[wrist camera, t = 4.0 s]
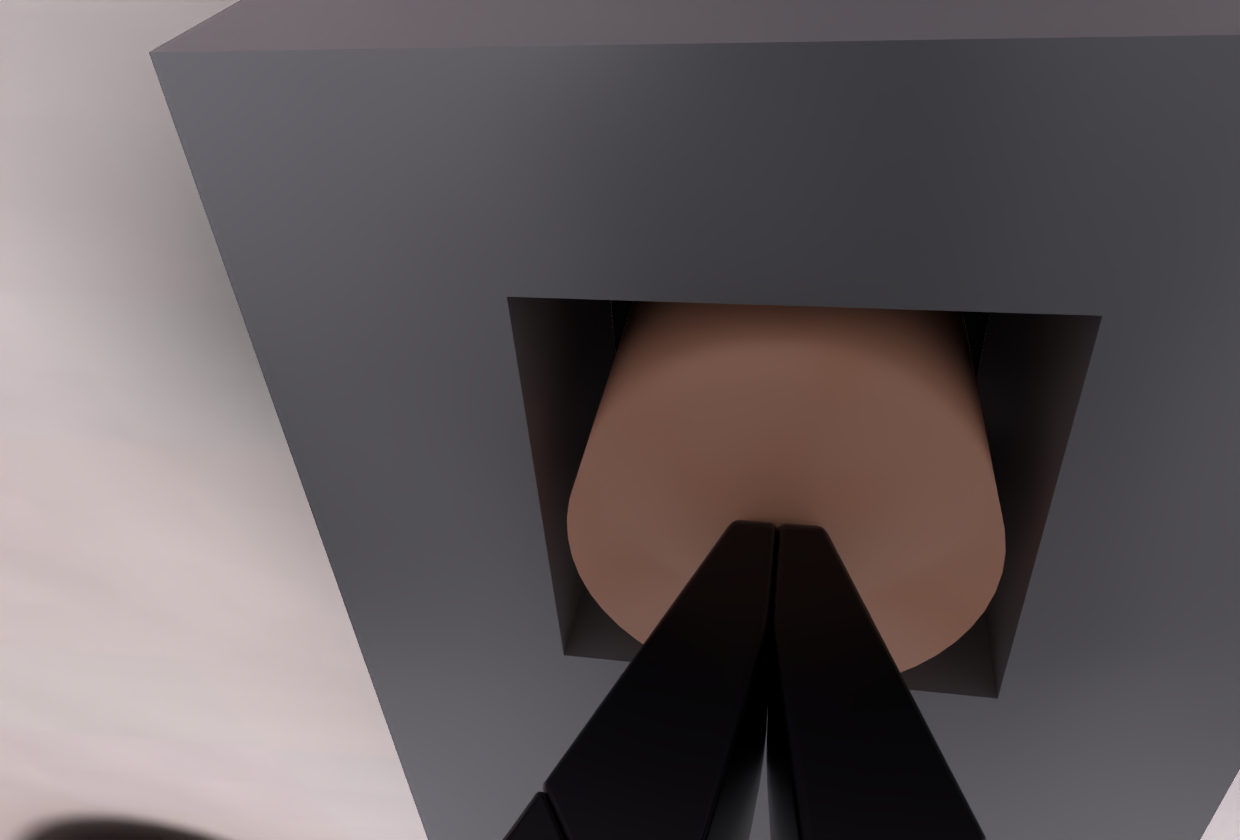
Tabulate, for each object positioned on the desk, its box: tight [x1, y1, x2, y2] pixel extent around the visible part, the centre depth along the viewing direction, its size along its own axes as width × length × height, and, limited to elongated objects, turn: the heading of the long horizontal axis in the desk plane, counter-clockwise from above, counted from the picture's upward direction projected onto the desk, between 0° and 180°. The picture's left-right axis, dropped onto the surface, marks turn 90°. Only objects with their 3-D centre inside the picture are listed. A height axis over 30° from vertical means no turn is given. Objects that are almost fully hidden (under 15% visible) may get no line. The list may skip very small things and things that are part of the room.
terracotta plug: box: [567, 301, 1006, 672], centre depth 10 cm, size 4×4×4 cm
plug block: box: [149, 0, 1240, 840], centre depth 15 cm, size 10×21×4 cm, turn 4°
